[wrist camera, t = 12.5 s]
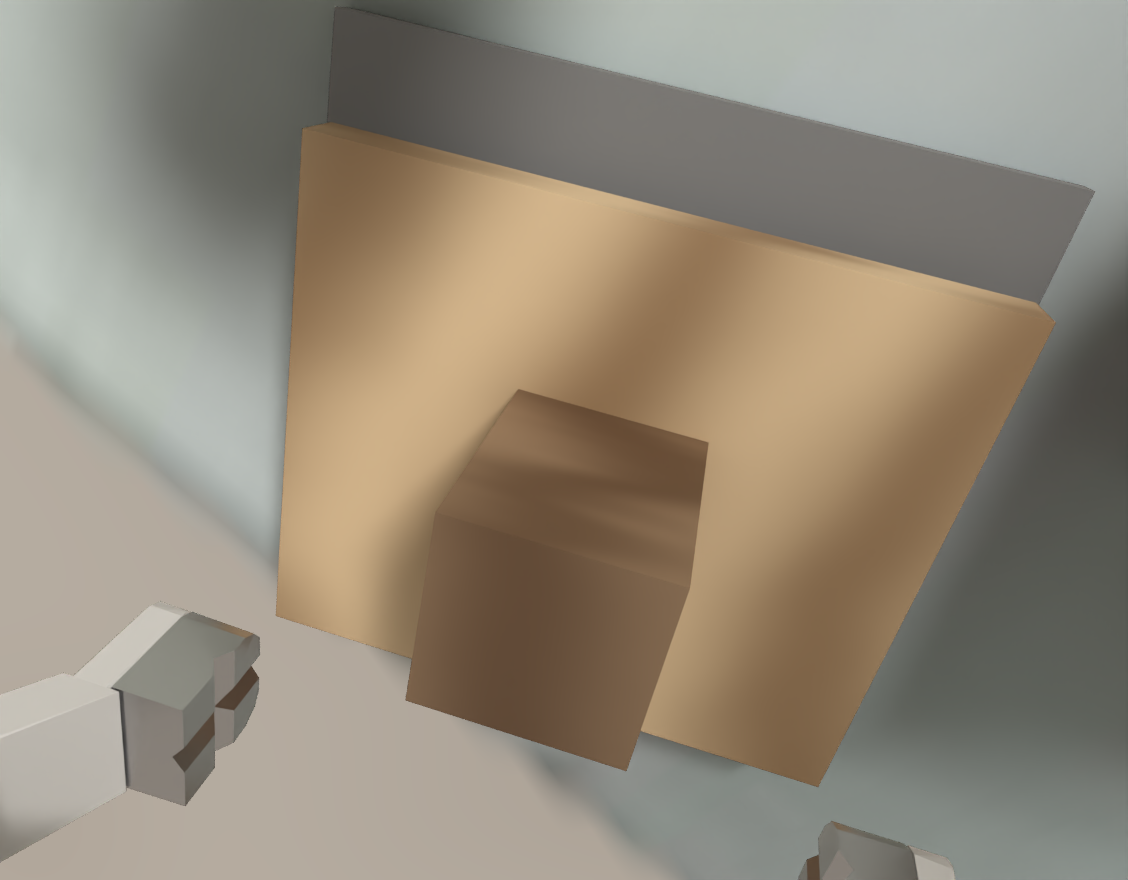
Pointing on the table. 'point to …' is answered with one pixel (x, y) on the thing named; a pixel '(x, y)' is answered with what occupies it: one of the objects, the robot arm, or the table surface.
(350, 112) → the mat
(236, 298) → the table surface
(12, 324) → the table surface
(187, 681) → the robot arm
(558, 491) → the lid
